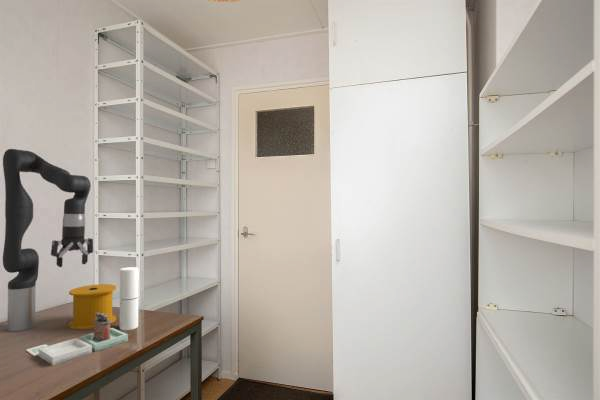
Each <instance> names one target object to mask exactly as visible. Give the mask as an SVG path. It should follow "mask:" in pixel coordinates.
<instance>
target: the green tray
mask: <svg viewBox="0 0 600 400" xmlns="http://www.w3.org/2000/svg"><path fill="white" fill-rule="evenodd" d="M93 337H94V332H92V333H88V334H85V335H82V336H79V339H80V340H82V341H84V342H86V343H88V344H90V345H92V352H98V351H101V350H104V349H107V348H111V347H113V346H116V345H119V344H123V343H125V342H129V333H126V332H123V331H122V330H120V329H119V330H118V329H116V328H114V327H110V339H108V340H105V341H102V342H97V341H94V340H93Z"/></svg>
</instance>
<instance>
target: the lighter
mask: <svg viewBox="0 0 600 400" xmlns="http://www.w3.org/2000/svg"><path fill="white" fill-rule="evenodd" d="M95 317H98V318H96V319H94V320H93V322H94V328H93V333H94V337H93V340H94V341H97V342H102V341H105V340H108V339H110V328H111V324H112V323H111V321H110V320H108V319H107V318H108V315H106V314H105V313H103V314H101V313H96V314H95ZM110 323H111V324H110Z"/></svg>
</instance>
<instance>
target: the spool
mask: <svg viewBox="0 0 600 400" xmlns="http://www.w3.org/2000/svg"><path fill="white" fill-rule="evenodd" d="M116 290H117V285H114V284H106V283H105V284H104V283H103V284H91V285H90V284H89V285H83V286H79V287H75V288H72V289H70V290H69V292H68V295H70V296H72V297H73V298H72V299H73V301H72V304H73V305H72V320H71V321H70V322H69V323H68V327H69V329H73V330H91V329H94V322H93V320H94V319H96V318H98V317H95V314H96V313H101V314H103V313H105V314H106V315H108V318H107V319H108V320H110V321H111V323H110V325H111V324H113V323H114V322H116V320H117V316H116V315H114V314H113V291H114V292H115V291H116Z"/></svg>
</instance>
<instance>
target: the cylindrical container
mask: <svg viewBox="0 0 600 400" xmlns="http://www.w3.org/2000/svg"><path fill="white" fill-rule="evenodd" d="M139 277H140V274H139V267H137V266H127V267H122V268H119V331H130V330H135V329H137V328H138V327H139V279H140V278H139Z"/></svg>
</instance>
